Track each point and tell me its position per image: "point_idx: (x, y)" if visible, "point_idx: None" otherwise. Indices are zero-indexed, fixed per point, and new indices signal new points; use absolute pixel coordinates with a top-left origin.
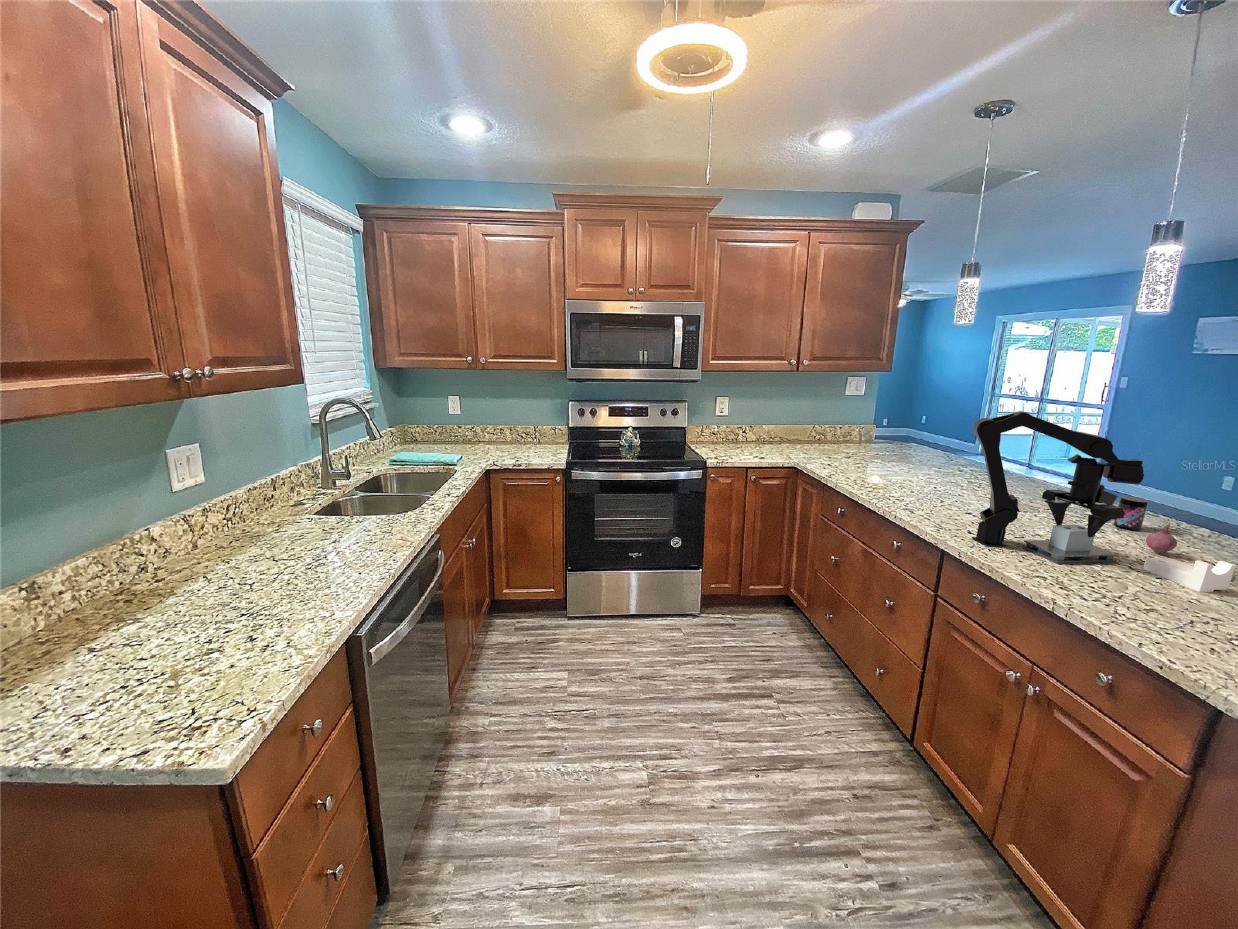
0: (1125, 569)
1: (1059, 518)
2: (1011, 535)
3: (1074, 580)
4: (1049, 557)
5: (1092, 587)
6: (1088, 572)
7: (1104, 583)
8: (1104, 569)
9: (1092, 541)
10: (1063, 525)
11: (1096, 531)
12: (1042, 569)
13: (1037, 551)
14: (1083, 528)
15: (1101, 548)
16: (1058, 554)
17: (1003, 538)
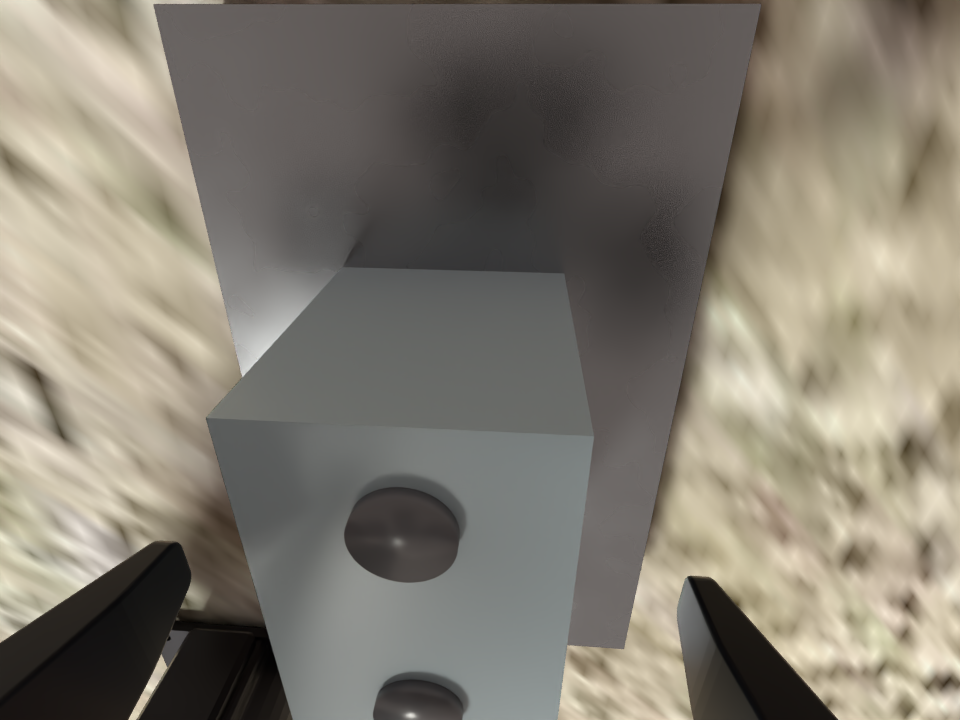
0: (886, 114)
1: (100, 702)
2: (15, 429)
3: (841, 686)
4: None
5: (948, 681)
6: (792, 523)
7: (957, 584)
8: (799, 349)
9: (572, 336)
10: (294, 660)
11: (799, 702)
12: (667, 707)
13: None
14: (454, 547)
15: (515, 18)
16: (605, 637)
17: (243, 666)
